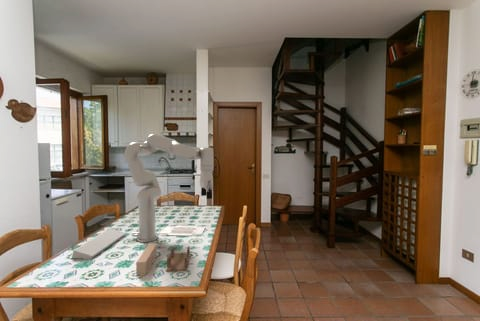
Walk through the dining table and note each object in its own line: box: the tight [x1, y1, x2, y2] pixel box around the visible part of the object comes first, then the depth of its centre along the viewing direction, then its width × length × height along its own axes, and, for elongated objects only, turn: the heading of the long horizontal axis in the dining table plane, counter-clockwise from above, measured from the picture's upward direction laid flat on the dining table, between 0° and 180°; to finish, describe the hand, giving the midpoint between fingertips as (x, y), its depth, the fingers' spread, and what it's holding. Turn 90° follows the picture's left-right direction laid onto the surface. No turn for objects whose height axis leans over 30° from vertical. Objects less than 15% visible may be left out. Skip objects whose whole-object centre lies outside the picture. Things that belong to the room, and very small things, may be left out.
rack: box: [165, 246, 191, 272], centre depth 124 cm, size 9×18×5 cm, turn 6°
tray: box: [159, 222, 206, 237], centre depth 171 cm, size 20×28×4 cm
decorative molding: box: [71, 228, 127, 260], centre depth 144 cm, size 34×5×10 cm
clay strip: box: [135, 242, 158, 276], centre depth 122 cm, size 4×22×6 cm, turn 6°
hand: (206, 197), depth 149 cm, fingers open, 9 cm apart
